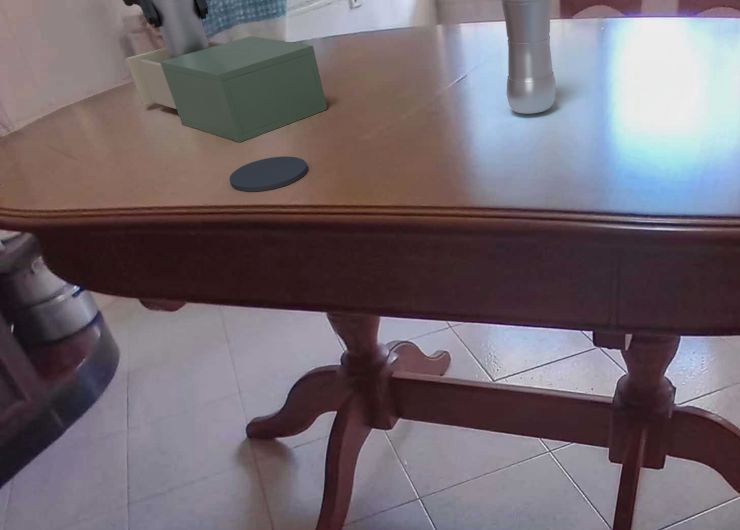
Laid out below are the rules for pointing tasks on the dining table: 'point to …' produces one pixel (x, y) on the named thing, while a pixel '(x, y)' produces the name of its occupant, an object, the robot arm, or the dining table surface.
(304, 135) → the dining table surface
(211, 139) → the dining table surface
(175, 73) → the green box
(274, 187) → the coaster
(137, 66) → the drawer
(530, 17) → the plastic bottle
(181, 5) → the gray cup
